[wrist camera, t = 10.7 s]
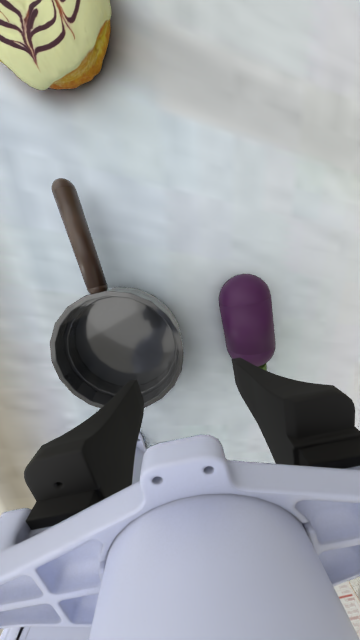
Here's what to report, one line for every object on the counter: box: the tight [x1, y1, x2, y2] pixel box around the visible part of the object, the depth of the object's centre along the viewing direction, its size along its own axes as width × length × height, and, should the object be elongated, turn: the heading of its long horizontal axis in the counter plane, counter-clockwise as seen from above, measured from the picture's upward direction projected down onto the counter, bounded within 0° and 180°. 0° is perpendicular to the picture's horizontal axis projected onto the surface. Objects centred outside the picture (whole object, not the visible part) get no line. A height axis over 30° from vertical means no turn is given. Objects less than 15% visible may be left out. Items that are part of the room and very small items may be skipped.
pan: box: [50, 287, 184, 408], centre depth 21 cm, size 13×13×4 cm
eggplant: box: [219, 274, 275, 370], centre depth 21 cm, size 12×5×5 cm, turn 13°
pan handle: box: [52, 178, 107, 294], centre depth 17 cm, size 10×2×2 cm, turn 13°
